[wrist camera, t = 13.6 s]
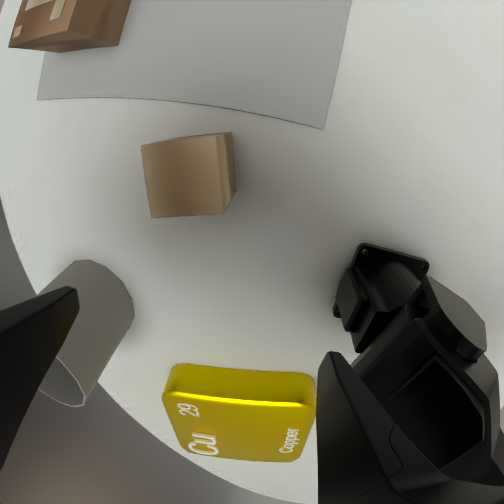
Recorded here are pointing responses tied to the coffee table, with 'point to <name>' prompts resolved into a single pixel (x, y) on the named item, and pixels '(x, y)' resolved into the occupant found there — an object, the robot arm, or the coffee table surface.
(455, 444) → the robot arm
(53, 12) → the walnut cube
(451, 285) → the coffee table surface
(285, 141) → the coffee table surface
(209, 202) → the oak block
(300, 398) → the element tile
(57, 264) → the coffee table surface
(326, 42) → the rubber mat
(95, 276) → the cup
